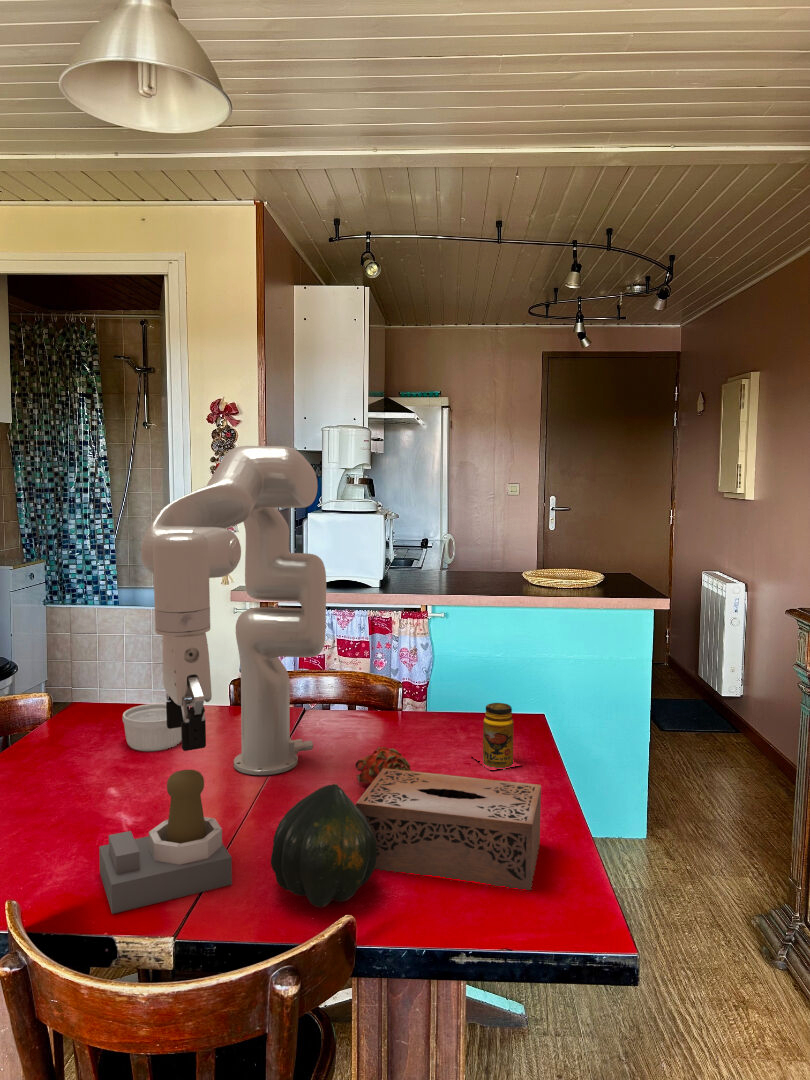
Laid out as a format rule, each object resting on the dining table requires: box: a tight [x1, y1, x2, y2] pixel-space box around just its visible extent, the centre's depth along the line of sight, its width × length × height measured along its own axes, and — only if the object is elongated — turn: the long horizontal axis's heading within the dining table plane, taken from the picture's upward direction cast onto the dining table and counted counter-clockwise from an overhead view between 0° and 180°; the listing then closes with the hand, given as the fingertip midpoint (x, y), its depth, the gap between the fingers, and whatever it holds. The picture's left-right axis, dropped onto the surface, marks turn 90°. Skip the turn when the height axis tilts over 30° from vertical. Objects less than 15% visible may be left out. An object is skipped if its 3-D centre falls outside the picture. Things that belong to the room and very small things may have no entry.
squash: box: [270, 783, 377, 908], centre depth 109 cm, size 14×15×15 cm
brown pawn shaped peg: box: [166, 769, 207, 844], centre depth 112 cm, size 6×6×11 cm
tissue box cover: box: [355, 768, 542, 891], centre depth 119 cm, size 26×14×10 cm, turn 75°
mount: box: [98, 816, 233, 915], centre depth 111 cm, size 16×12×6 cm
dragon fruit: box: [354, 746, 412, 784], centre depth 144 cm, size 8×8×12 cm
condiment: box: [482, 702, 515, 768], centre depth 158 cm, size 7×8×12 cm
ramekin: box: [122, 702, 182, 752], centre depth 168 cm, size 13×13×7 cm
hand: (185, 737), depth 112 cm, fingers open, 9 cm apart
